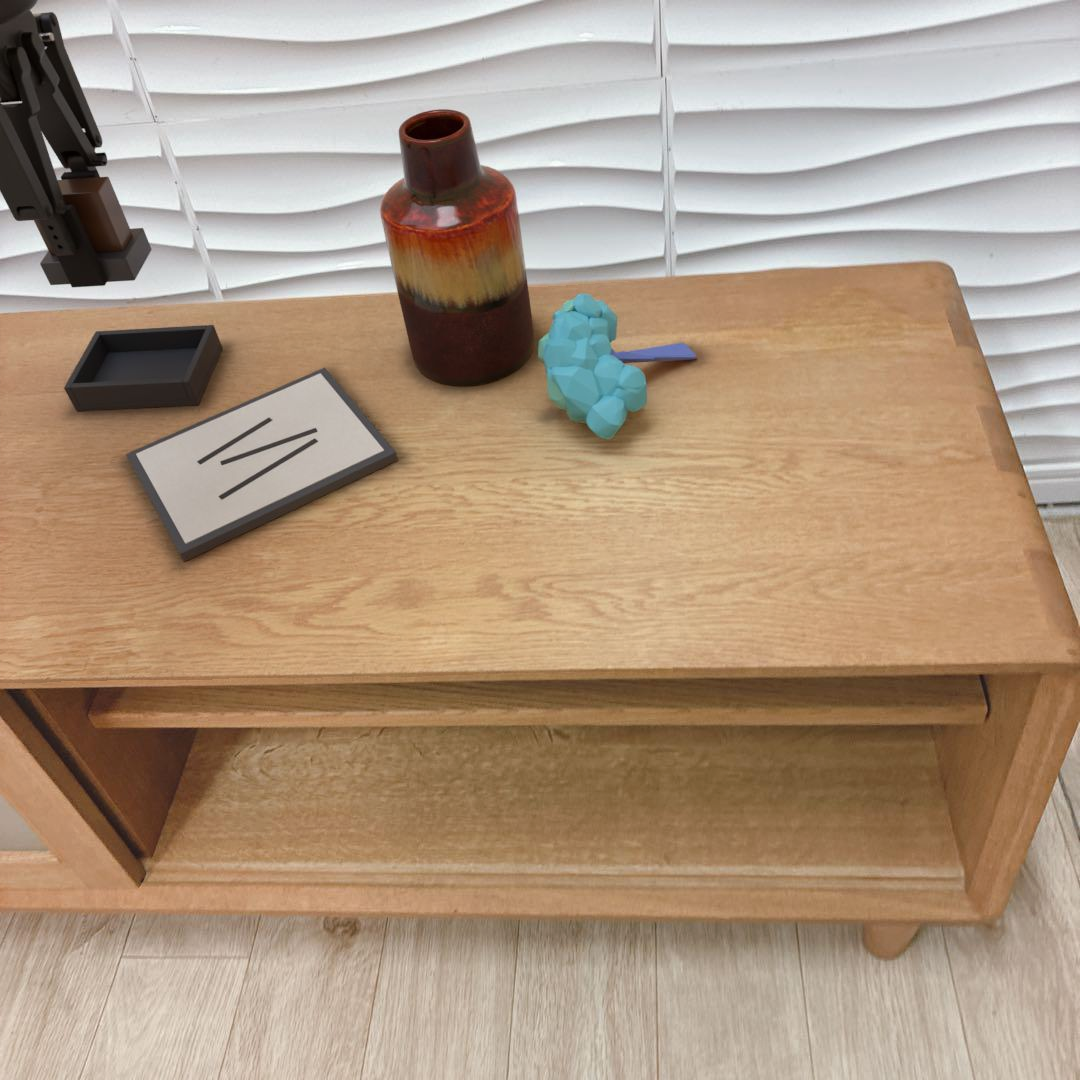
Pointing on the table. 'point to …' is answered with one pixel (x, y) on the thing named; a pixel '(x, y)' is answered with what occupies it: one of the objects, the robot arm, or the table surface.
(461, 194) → the vase
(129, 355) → the tray
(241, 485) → the whiteboard
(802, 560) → the table surface
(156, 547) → the table surface
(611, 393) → the light blue toy tree
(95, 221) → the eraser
